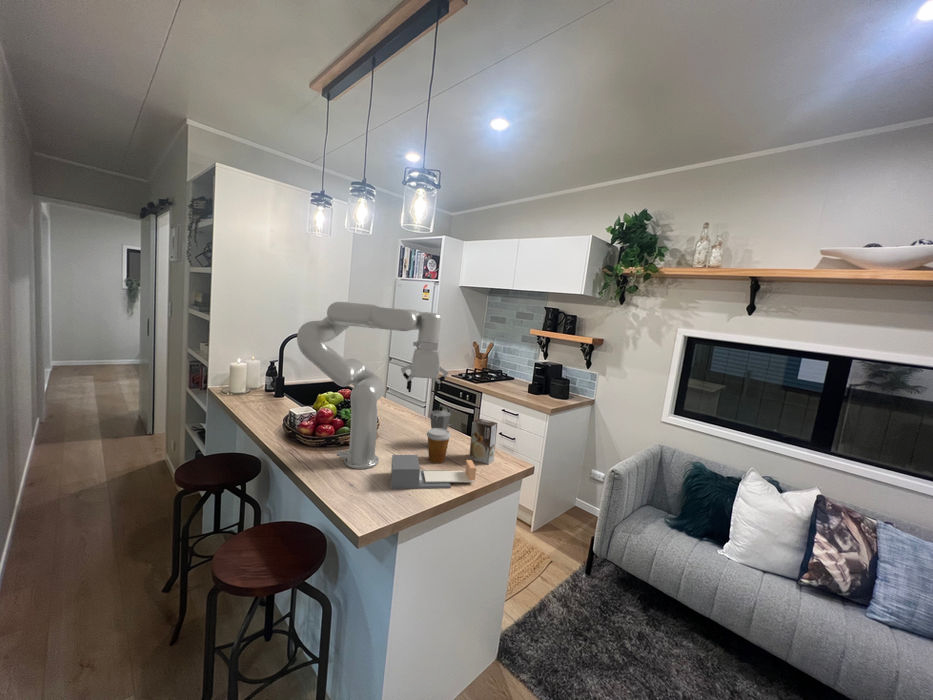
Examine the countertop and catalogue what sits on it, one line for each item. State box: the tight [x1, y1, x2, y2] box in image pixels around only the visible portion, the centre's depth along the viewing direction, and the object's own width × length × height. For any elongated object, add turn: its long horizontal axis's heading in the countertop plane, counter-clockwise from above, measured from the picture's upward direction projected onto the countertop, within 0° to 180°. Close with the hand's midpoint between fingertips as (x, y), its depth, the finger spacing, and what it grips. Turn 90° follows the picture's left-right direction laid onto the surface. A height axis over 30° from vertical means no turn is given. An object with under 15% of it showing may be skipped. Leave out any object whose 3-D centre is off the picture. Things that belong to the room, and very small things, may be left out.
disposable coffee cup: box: [426, 428, 452, 464], centre depth 149 cm, size 10×10×12 cm
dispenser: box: [390, 454, 452, 490], centre depth 131 cm, size 20×12×7 cm, turn 102°
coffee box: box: [468, 418, 498, 465], centre depth 154 cm, size 9×6×16 cm
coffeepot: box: [429, 406, 451, 448], centre depth 165 cm, size 15×9×18 cm, turn 158°
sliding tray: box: [424, 459, 477, 483], centre depth 133 cm, size 18×8×5 cm, turn 102°
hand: (422, 392), depth 137 cm, fingers open, 9 cm apart
